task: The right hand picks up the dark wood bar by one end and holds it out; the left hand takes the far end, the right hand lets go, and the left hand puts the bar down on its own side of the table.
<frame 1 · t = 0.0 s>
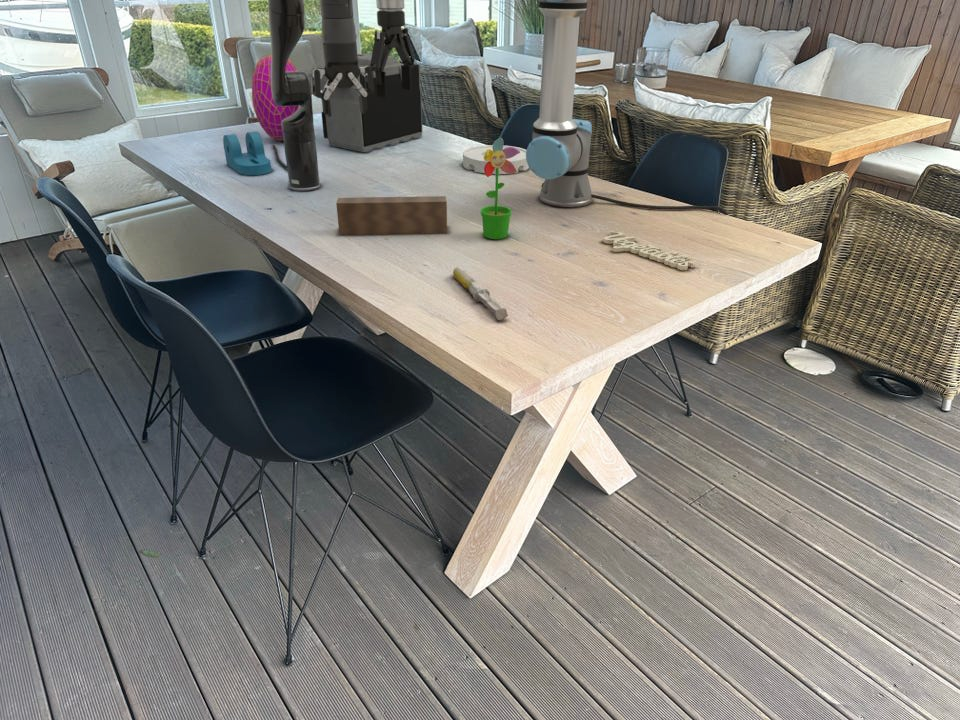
left hand: (345, 114, 163), 29 cm above the table, tool pointing down, fingers open, 8 cm apart
right hand: (394, 93, 197), 28 cm above the table, tool pointing down, fingers open, 13 cm apart
camera mount: (251, 168, 229), on the table
potted flower: (496, 235, 177), on the table
ashtray: (496, 165, 236), on the table
bar: (393, 231, 179), on the table
syringe: (478, 297, 145), on the table
decorative egg: (284, 140, 265), on the table
cooler box: (374, 141, 264), on the table
decorative sign: (643, 253, 167), on the table
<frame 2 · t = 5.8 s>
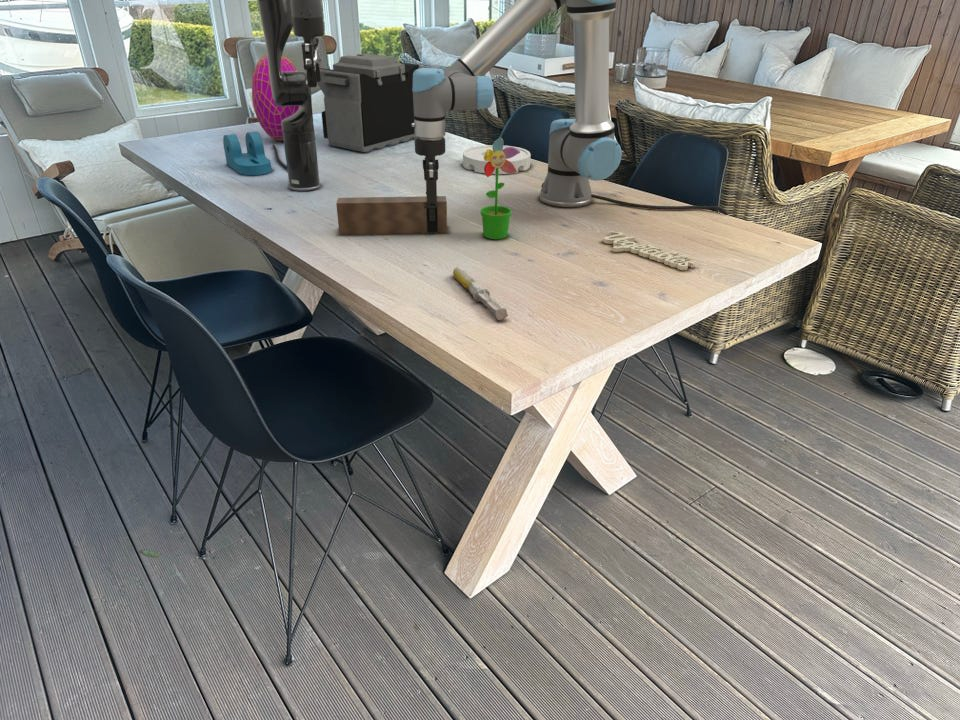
left hand: (314, 84, 179), 33 cm above the table, tool pointing down, fingers open, 8 cm apart
right hand: (432, 228, 180), 1 cm above the table, tool pointing down, fingers closed on bar, 5 cm apart
bar: (393, 231, 179), on the table, touching right hand
everything else where it was.
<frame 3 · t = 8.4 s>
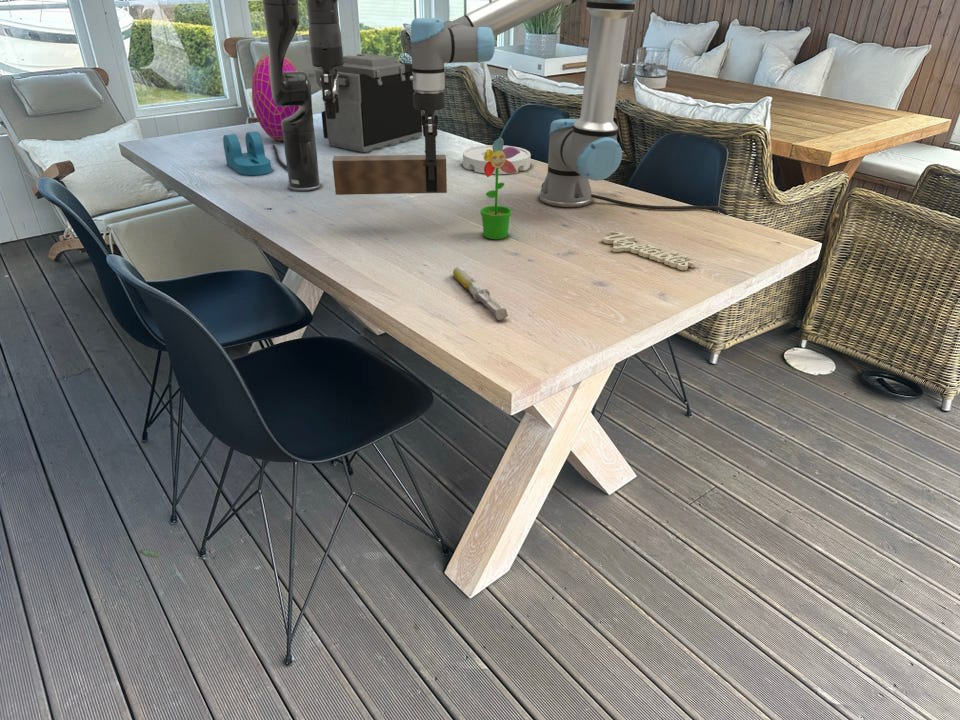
left hand: (333, 115, 171), 27 cm above the table, tool pointing down, fingers open, 8 cm apart
right hand: (431, 188, 174), 11 cm above the table, tool pointing down, fingers closed on bar, 5 cm apart
bar: (391, 191, 174), point 11 cm above the table, touching right hand
everything else where it was.
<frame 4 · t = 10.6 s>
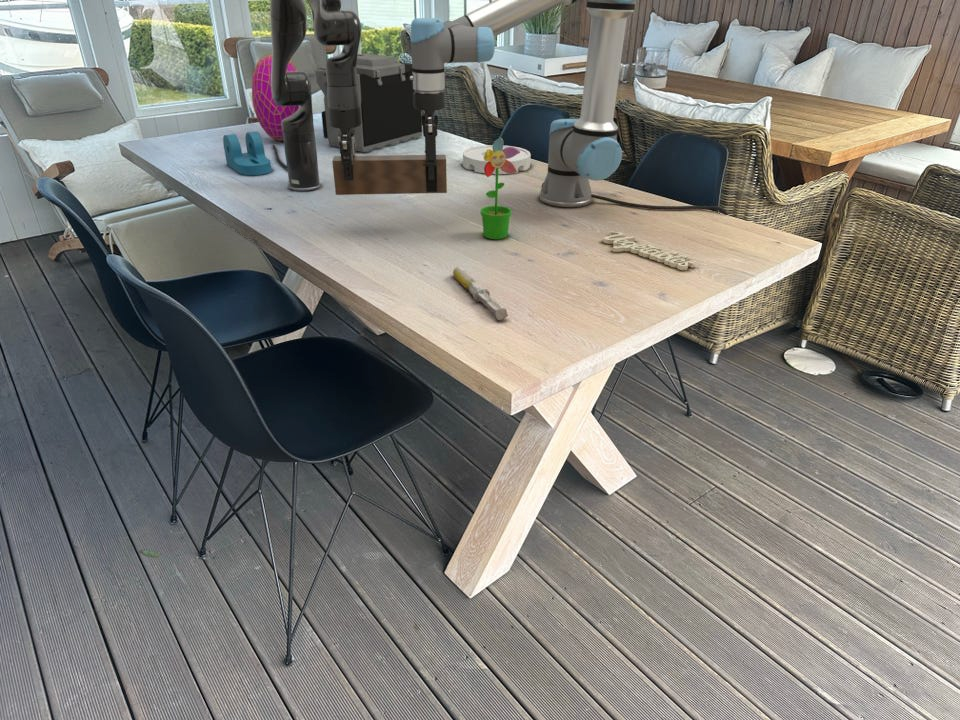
left hand: (350, 176, 171), 14 cm above the table, tool pointing down, fingers closed on bar, 4 cm apart
right hand: (431, 188, 174), 11 cm above the table, tool pointing down, fingers closed on bar, 5 cm apart
bar: (391, 191, 174), point 11 cm above the table, touching right hand, left hand
everything else where it was.
when the right hand's fingers open (11 cm above the table, at t = 11.4 s): bar stays where it is, held by the left hand.
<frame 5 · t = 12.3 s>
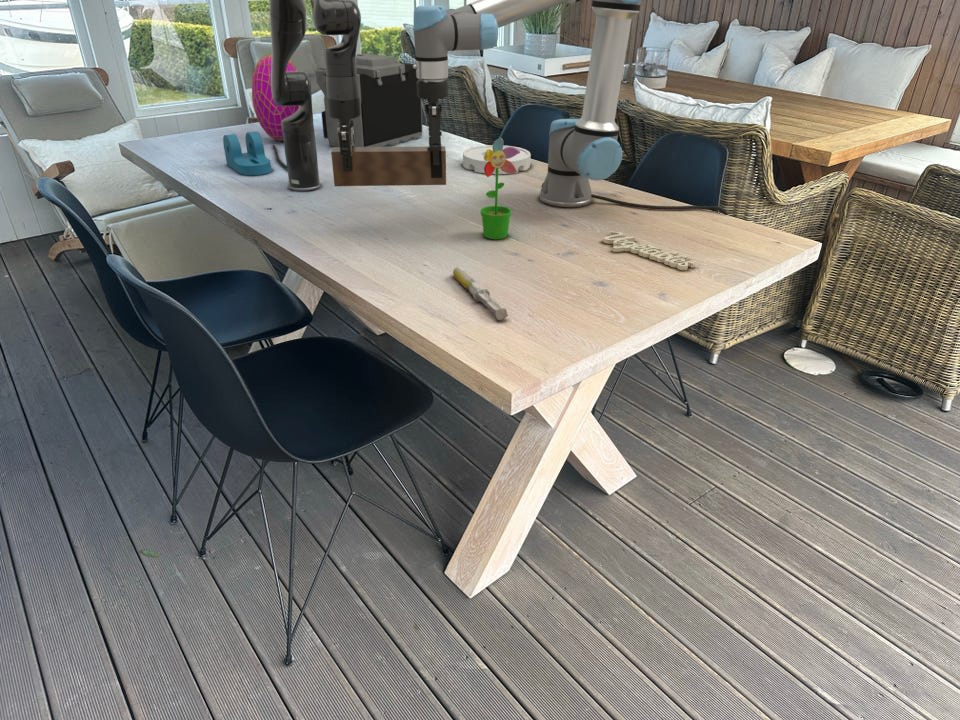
left hand: (349, 167, 170), 17 cm above the table, tool pointing down, fingers closed on bar, 4 cm apart
right hand: (435, 170, 172), 16 cm above the table, tool pointing down, fingers open, 13 cm apart
bar: (390, 182, 173), point 13 cm above the table, touching left hand
everything else where it was.
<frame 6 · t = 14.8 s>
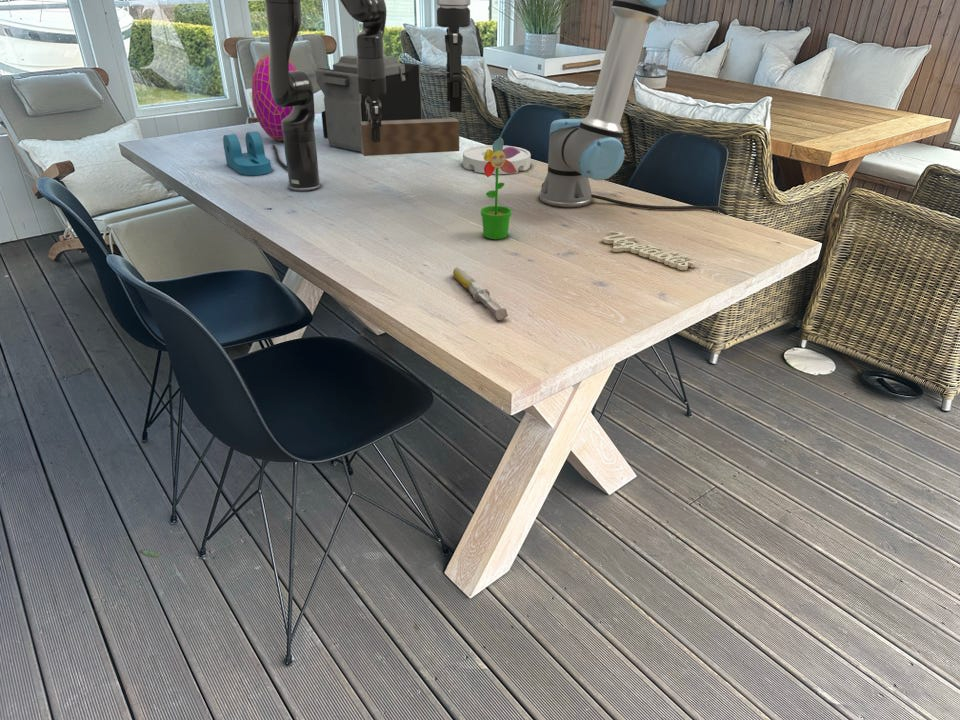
left hand: (375, 139, 194), 17 cm above the table, tool pointing down, fingers closed on bar, 4 cm apart
right hand: (454, 106, 165), 31 cm above the table, tool pointing down, fingers open, 13 cm apart
bar: (411, 151, 198), point 13 cm above the table, touching left hand
everything else where it was.
when the left hand's fingers open (5 cm above the table, at t = 19.2 s): bar stays where it is, resting on ashtray.
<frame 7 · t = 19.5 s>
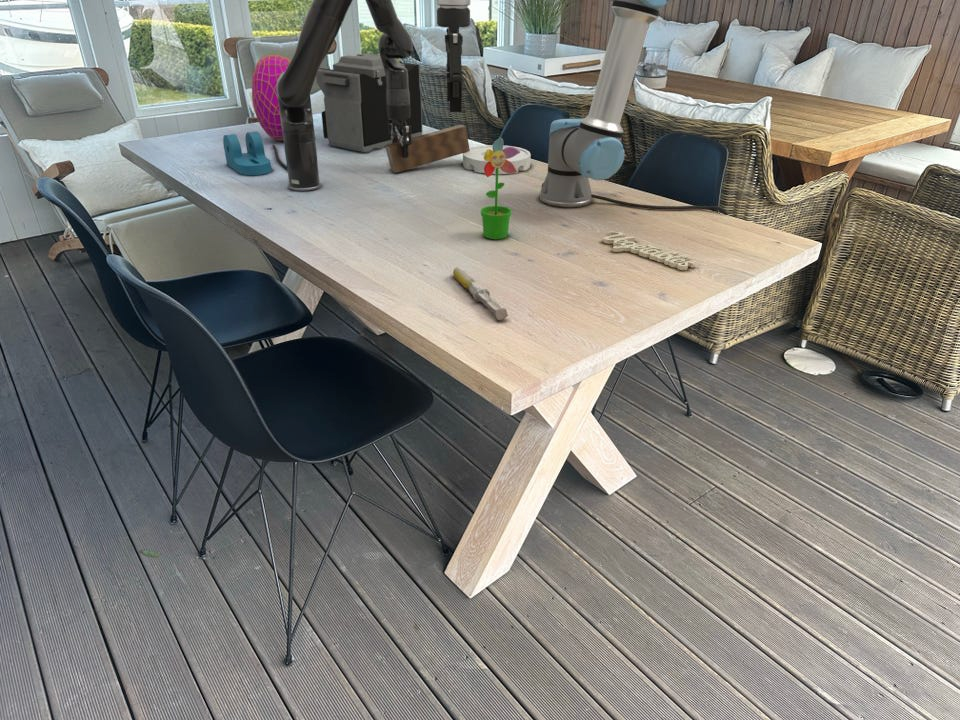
left hand: (400, 154, 226), 5 cm above the table, tool pointing down, fingers open, 7 cm apart
right hand: (454, 106, 165), 31 cm above the table, tool pointing down, fingers open, 13 cm apart
ashtray: (496, 165, 236), on the table, touching bar
bar: (430, 160, 232), point 2 cm above the table, tilted 10°, touching ashtray
everything else where it was.
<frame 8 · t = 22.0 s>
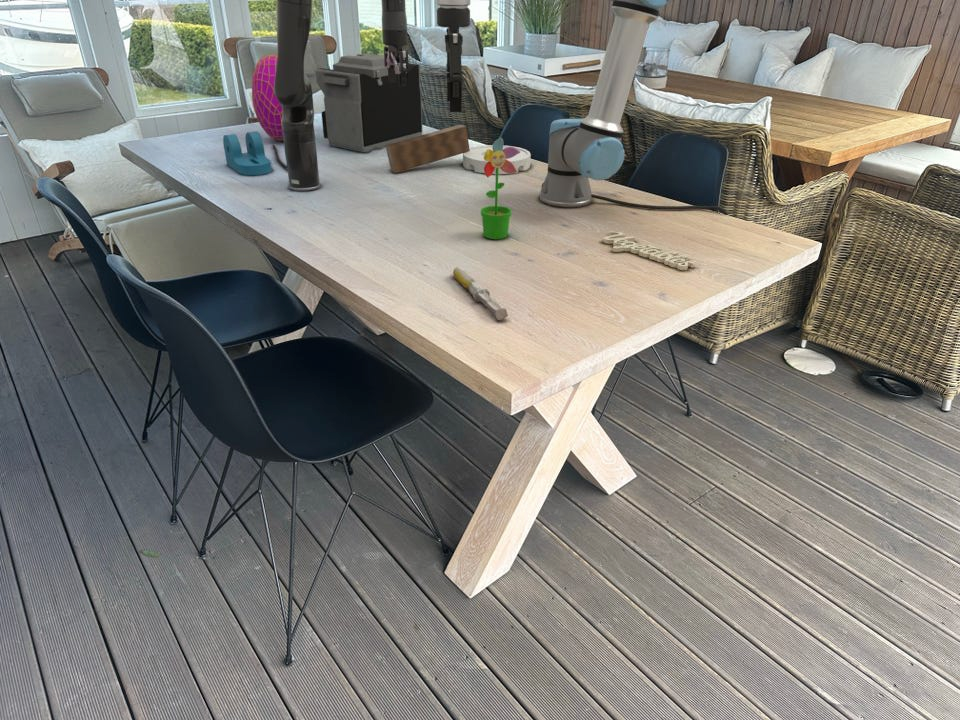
left hand: (397, 84, 215), 27 cm above the table, tool pointing down, fingers open, 8 cm apart
right hand: (454, 106, 165), 31 cm above the table, tool pointing down, fingers open, 13 cm apart
nothing on the table moved.
at the end: bar inside the target area (10.7 cm from its centre), point 2.3 cm above the table; the left hand is holding nothing; the right hand is holding nothing; bar at rest at the end (0.0 cm/s) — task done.
